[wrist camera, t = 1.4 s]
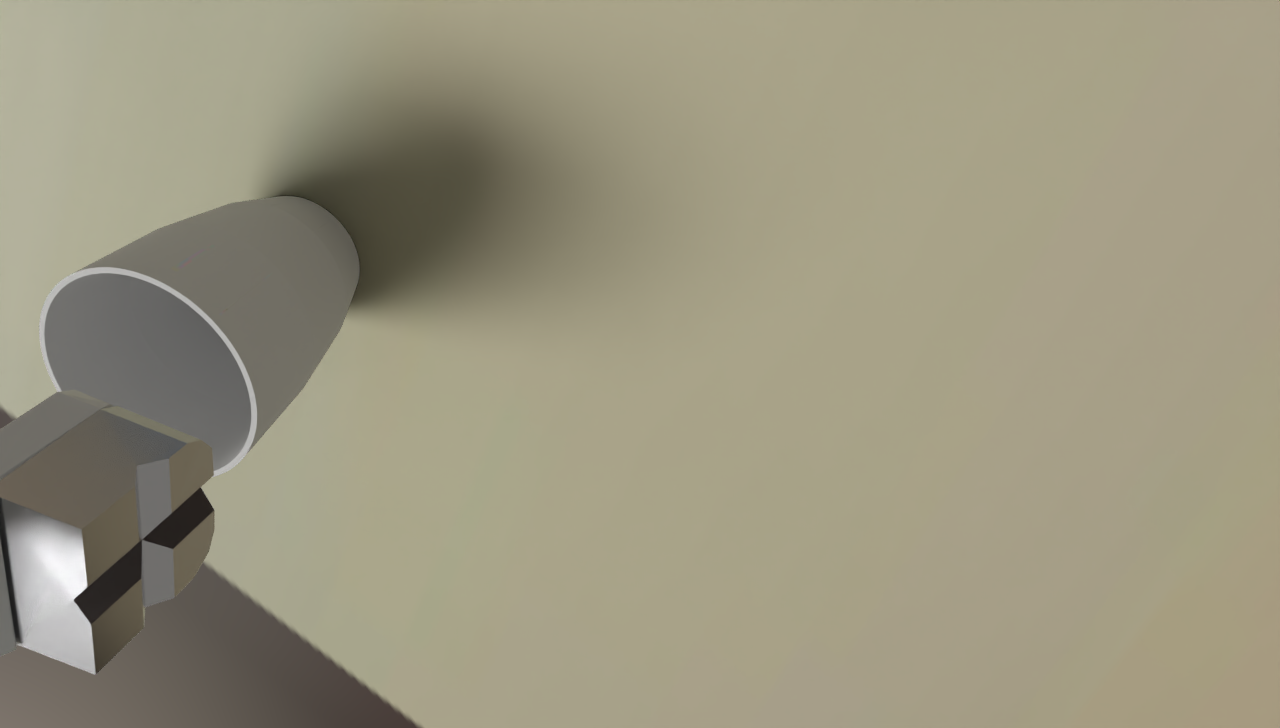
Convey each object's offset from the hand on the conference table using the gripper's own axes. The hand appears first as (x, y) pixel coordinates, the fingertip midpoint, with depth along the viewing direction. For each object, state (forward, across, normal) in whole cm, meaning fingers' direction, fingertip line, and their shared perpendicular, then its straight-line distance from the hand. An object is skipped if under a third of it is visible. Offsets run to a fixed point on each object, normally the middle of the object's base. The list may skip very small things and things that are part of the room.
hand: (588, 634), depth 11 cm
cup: (+29, +20, +15) cm, 38 cm away
